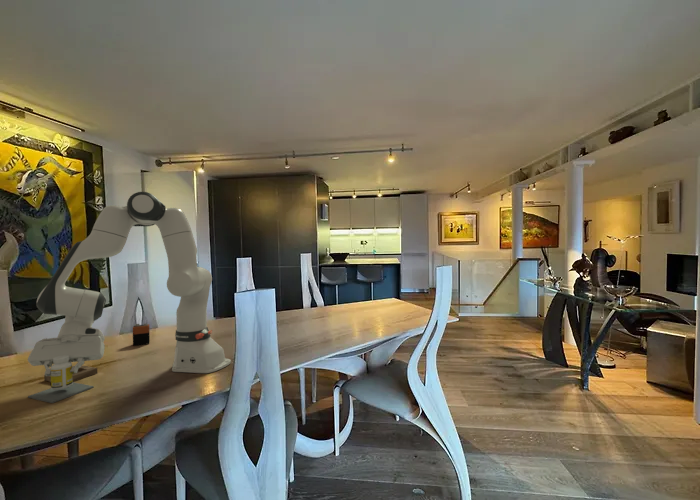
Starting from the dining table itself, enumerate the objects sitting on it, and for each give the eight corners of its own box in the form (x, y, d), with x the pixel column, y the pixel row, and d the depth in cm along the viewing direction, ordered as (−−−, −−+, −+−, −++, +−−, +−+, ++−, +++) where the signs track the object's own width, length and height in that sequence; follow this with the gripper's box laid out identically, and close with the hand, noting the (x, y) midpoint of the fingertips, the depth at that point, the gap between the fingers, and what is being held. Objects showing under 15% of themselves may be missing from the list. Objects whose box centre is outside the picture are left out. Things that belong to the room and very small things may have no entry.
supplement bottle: (70, 382, 115) (70, 353, 115) (74, 386, 111) (74, 356, 111) (49, 387, 111) (48, 357, 110) (52, 391, 107) (52, 360, 107)
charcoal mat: (93, 387, 114) (93, 386, 114) (52, 403, 103) (52, 401, 103) (70, 383, 119) (70, 381, 119) (27, 397, 107) (27, 396, 107)
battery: (133, 344, 166) (133, 323, 166) (149, 342, 169) (149, 322, 169) (132, 346, 162) (132, 325, 162) (149, 344, 166) (149, 323, 165)
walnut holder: (97, 373, 128) (97, 367, 128) (64, 384, 117) (64, 378, 117) (78, 369, 131) (78, 364, 131) (44, 380, 121) (44, 375, 121)
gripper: (33, 334, 114) (16, 373, 105) (105, 329, 120) (94, 365, 111) (41, 344, 118) (25, 382, 109) (109, 338, 125) (100, 374, 116)
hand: (60, 373), depth 110 cm, fingers closed on supplement bottle, 5 cm apart
